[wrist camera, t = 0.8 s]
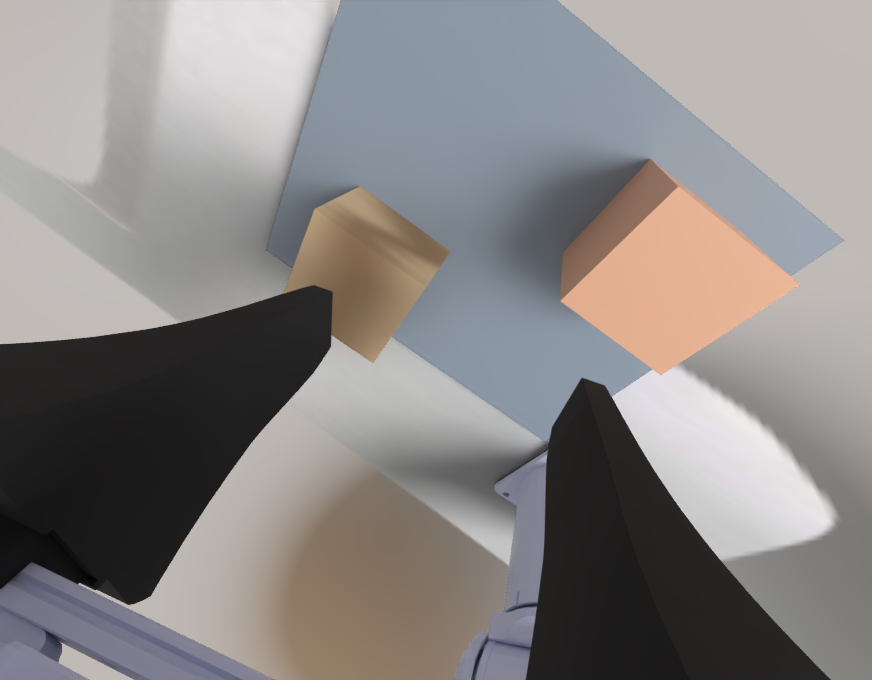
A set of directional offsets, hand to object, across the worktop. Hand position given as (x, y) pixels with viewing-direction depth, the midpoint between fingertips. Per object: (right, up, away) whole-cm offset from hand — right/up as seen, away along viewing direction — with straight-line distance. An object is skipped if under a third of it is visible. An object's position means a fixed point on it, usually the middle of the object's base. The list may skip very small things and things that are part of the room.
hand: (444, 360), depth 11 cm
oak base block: (-3, +5, +9) cm, 10 cm away
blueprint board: (+3, +5, +7) cm, 10 cm away
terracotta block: (+8, +5, +5) cm, 11 cm away
